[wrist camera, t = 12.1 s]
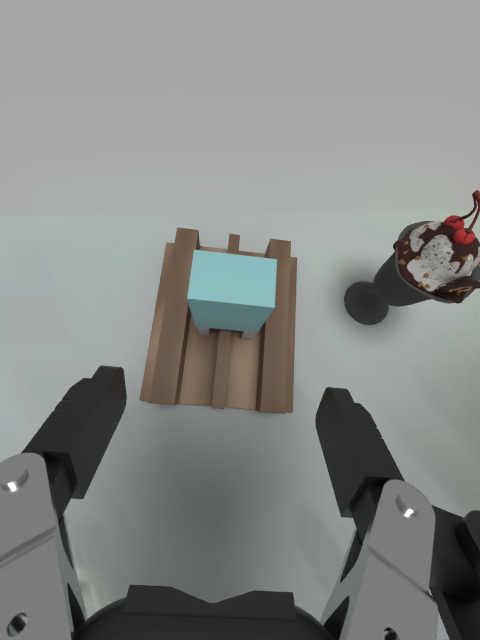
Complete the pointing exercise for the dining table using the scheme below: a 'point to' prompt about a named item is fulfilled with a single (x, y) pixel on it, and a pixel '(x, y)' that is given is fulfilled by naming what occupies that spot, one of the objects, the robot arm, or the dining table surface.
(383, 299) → the sundae
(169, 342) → the rail
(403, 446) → the dining table surface
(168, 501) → the dining table surface
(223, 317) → the aqua box with feet
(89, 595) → the dining table surface
